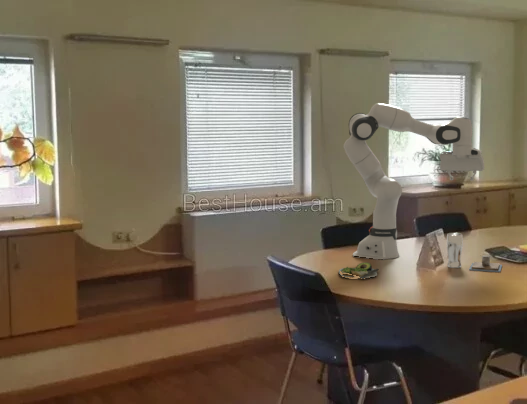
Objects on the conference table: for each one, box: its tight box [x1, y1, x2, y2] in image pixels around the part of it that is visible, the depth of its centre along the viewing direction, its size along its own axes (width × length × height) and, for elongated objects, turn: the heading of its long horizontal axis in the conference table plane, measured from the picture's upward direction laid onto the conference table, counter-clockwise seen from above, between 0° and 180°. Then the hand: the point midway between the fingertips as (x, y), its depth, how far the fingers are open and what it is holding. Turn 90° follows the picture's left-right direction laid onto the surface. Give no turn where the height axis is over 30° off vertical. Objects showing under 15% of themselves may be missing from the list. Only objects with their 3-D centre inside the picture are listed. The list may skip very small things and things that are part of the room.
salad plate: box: [338, 262, 379, 280], centre depth 291 cm, size 19×18×5 cm
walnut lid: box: [472, 255, 501, 271], centre depth 300 cm, size 11×11×5 cm
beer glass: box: [446, 232, 464, 269], centre depth 303 cm, size 7×7×15 cm
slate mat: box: [468, 262, 503, 273], centre depth 300 cm, size 13×13×1 cm
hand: (461, 180), depth 321 cm, fingers open, 8 cm apart
